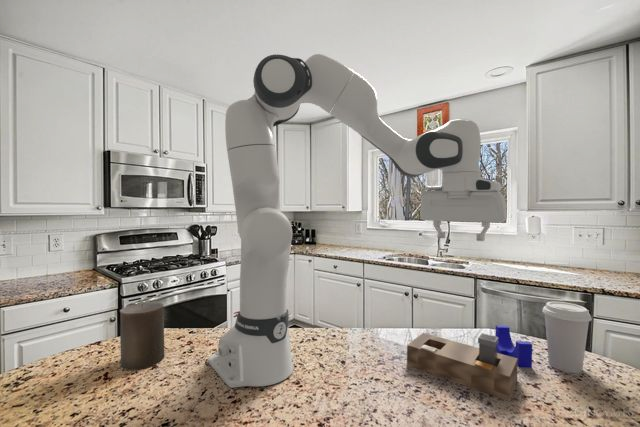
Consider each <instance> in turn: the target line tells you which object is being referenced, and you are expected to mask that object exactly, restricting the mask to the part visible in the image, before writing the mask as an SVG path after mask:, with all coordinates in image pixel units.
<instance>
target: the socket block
mask: <svg viewBox="0 0 640 427" xmlns="http://www.w3.org/2000/svg"><path fill="white" fill-rule="evenodd" d="M406 365H407V366H409V367H412V368H414V369H417V370H420V371H423V372H426V373H429V374H432V375H435V376H436V377H437V376H438V377H441V378H443V379H446V380H449V381H452V382H454V383H457V384H459V385H460V384H461V385H462V386H466V387H468V388H470V389H473V390H477V391H480V392H483V393H486V394H488V395H491V396H495V397H497V398H499V399H503V400H505V401H508V402H510V400H511V398H512V395H513V393H514V390H515V388H516V385H517V382H518V368H519V367H518V358H514V357H510V356H507V355H503V354H499V353H497V367H496V366H493V365H491V364H488V363H484V362H481V361H479V347H477V346H473V345H471V344H467V343H463V342H458V341H455V340H451V339H448V338H444V337H440V336H437V335H434V334H433V335H432V334H429V333H425V332H422V333H420V335H418V336H417V337H416V338H414V339H413V340H412V341H410V342H409V343H408V344H407V345H406Z"/></svg>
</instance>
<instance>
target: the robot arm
mask: <svg viewBox="0 0 640 427" xmlns="http://www.w3.org/2000/svg"><path fill="white" fill-rule="evenodd" d="M253 89H254V94H253V95H252V96H251V97H249V98H247V99H241V100H237V101H235V102H233V103H231V104H230V105H229V106H228V107H227V109H226V111H225V120H224V122H225V131H224V132H225V143H226V144H225V145H226V151H227V152H226V153H227V158H228V159H227V160H228V166H229V172H230V178H231V187H232V193H233V201H234V207H235V214H236V215H235V216H236V221H237V223H236V224H237V229H238V235H239V238H240V269H239V270H240V271H239V273H240V274H239V310H238V311H236V312H233V315H234V314H235V315H234V316H233V318H236V319H235V323H234V325H233V327H232V328H230V329H229V330H228V331H226V332H225V333H224V334H223V335H222V336H220V338H219V340H218V346H217V347H218V348H217V349H218V350H217V351H216V352H214V353H213V354H211V355H210V356H209V357H208V358H207V359H208V360H207V361H208V364H209V365H210V367H211V368H212V369H213V370H214V371H215V373H217V375H218V376H219V377H220V379H221V380H223V382H224V383H225V385H227V386H228V388H232V389H233V388H241V387H266V386H271V385H275V384H279V383H281V382H282V381H284V380H286V379H287V378H289V377H290V376H291V375H292V373H293V371H294V363H293V359H294V353H293V352H292V349H291V337H290V329H289V320H290V314H289V310H288V308H287V307H288V306H287V305H288V304H287V302H288V301H287V300H288V286H287V283H288V272H289V265H290V264H289V263H290V258H291V257H290V256H291V246H292V240H293V228H292V224H291V221H290V220H289V218H288V216H286V215H285V214H284V213H283V212H282V211H281V201H280V200H281V199H280V182H281V180H280V171H279V165H278V158H277V150H276V145H275V144H276V143H275V138H274V127H277V126H279V125H281V124H283V123H286V122H289V121H290V120H291V119H293V118H294V117H295V116H296V115H297V114H298V112H299V111H300V106H301V105H302V104H312V105H315V106H317V107H319V108H320V109H322V110H323V111H325V112H326V113H328V114H329V115H330V116H332V117H333V118H335V119H336V120H338V121H340V122H341V123H342V124H344V125H345V126H348V127H349V128H350V129H352V130H353V131H354V132H356V133H358V135H359V136H361V137H362V138H363V139H365V140H366V141H367V142H369V143H370V144H371V145H372V146H374V147H375V148H377V149H378V150H379V151H380V152H381V153H383V154H384V155H385V156H387V157H388V159H390V161H391V162H392V163H393V165H394V166H395V168H396V169H397V171H398V172H399V173H400V174H401V175H403V176H405V177H409V178H416V177H419V176H422V175H424V174H427V173H431V172H434V171H437V170H440V171H441V172H442V174H441V175H442V176H441V177H442V180H441V182H442V183H441V184H442V185H440V186H439V185H437V186H426V188H425V187H424V188H423V189H422V190H421V192H420V200H421V202H420V210H419V218H420V219H421V220H422V221H428V222H429V221H433V222H432V225H433V227H434V228H435V231H436V232H437V239H446V231H445V230H444V231H443V230H442V228H441V225H442V222H462V223H463V222H464V223H465V222H468V223H470V222H472V223H475V222H476V223H481V227H483V229H482V230H481V231H480V233H476V234H475V235H476V236H475V237H476V238H475V240H476V241H477V242H484V241H485V238H486V237H485V236H486V233H487V232H488V230H489V229H490V227H491V223H495V224H496V223H498V224H499V223H504V222H505V221H506V220H507V218H508V210H507V208H508V207H507V202H506V198H505V196H504V195H503V194H502V193H501V190H502V184H501V183H500V182H498V181H495V180H490V179H488V178H482V177H481V169H480V165H479V164H480V158H481V154H482V152H481V151H482V150H481V149H482V145H481V144H482V142H481V135H480V134H481V133H480V129H479V127H478V124H477V123H476V122H474V121H473V120H470V119H467V118H466V119H465V118H457V119H456V118H455V119H450V120H449V121H447V122H446V123H445V124H443V125H442V126H440V127H438V128H436V129H434V130H429V131H426V132H424V133H421V134H420V135H417V136H416V137H414V138H412V139H411V138H410V139H408V138H405V137H403V136H402V135H400V134H398V133H397V131H395V130H394V129H392V128H391V127H390V126H389V125H387V124H386V123H385V122H384V121H383V120H382V119H381V118H380V115H379V113H378V96H377V92H376V89H375V88H374V87H373V85H372V84H371V83H369V81H368V80H367V79H365V77H363V76H362V75H360V74H359V73H357V72H355V71H354V70H353V69H351V68H349V66H346V65H345V64H344V63H341V62H339V61H338V60H335V59H333V58H332V57H328V56H326V55H325V54H321V53H317V54H313V55H311V56H309V57H307V59H306V60H305V61H304V60H303V59H301V58H299V57H291V56H289V55H284V54H277V53H275V54H271V55H268V56H266V57H264V58H263V59H261V60H260V61H259V63H258V64H257V66H256V67H255V70H254V74H253Z"/></svg>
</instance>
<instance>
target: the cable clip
mask: <svg viewBox="0 0 640 427" xmlns="http://www.w3.org/2000/svg"><path fill="white" fill-rule="evenodd" d="M495 336H496V337H498V344H497V352H498V353H499V354H503V355H507V356H510V357H514V358H518V368H521V369H522V368H526V369H527V368H528V369H532V368H533V343H531V342H530V341H519V340H516V341H515V344H514V343H513V340H512V337H511V331H510V327H509V325H502V324H501V325H500V324H499V325H498V324H497V325H495Z"/></svg>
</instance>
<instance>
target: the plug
mask: <svg viewBox="0 0 640 427" xmlns="http://www.w3.org/2000/svg"><path fill="white" fill-rule="evenodd" d="M477 343H478V346H479V347H478V348H479V361H481V362H484V363H488V364H491V365H493V366H496V367H497V344H498V337H496V335H490V334H486V333H483V332H482V333H481V334H480V335H479V336H478V337H477Z"/></svg>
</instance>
